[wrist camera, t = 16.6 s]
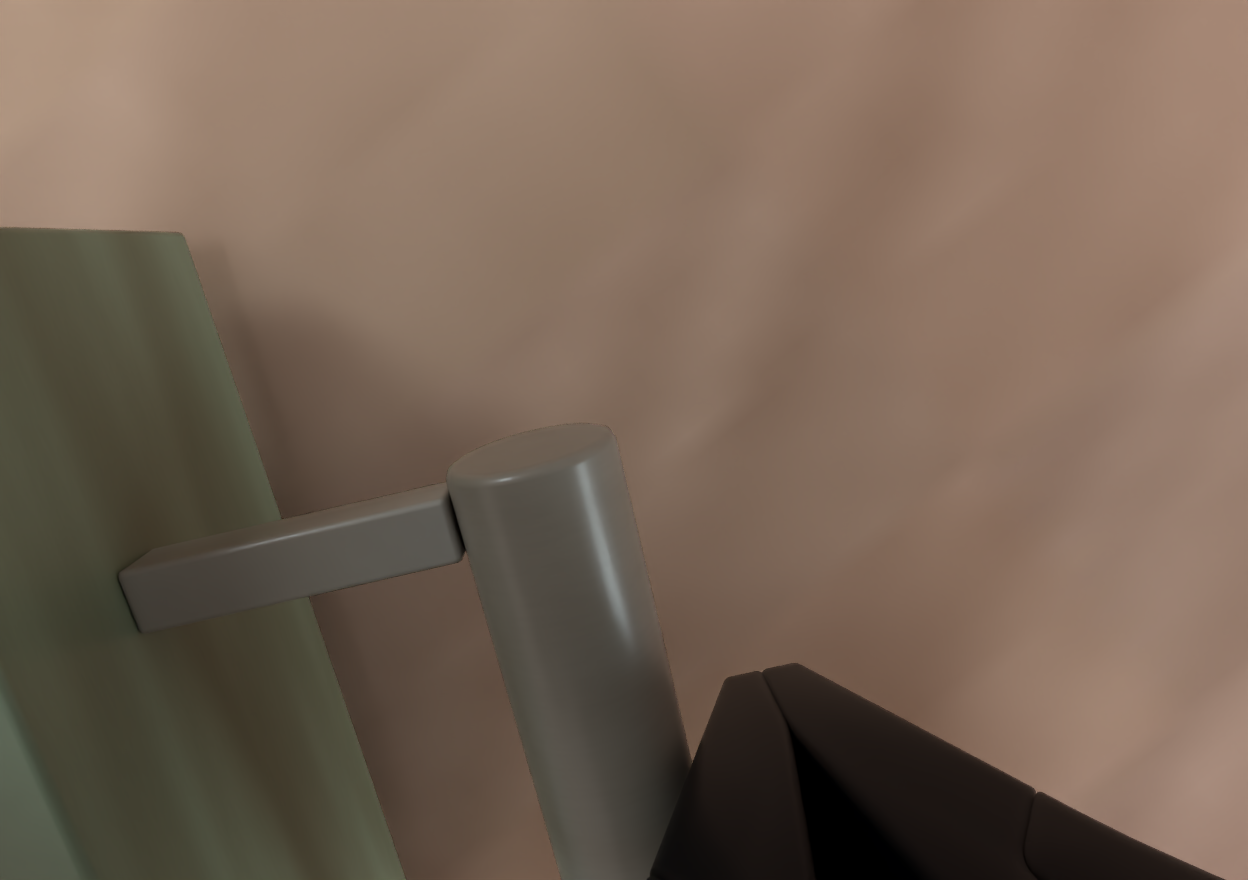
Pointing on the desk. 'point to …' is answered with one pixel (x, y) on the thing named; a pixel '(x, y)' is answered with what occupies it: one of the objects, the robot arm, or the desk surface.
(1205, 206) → the desk surface
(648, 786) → the drawer
